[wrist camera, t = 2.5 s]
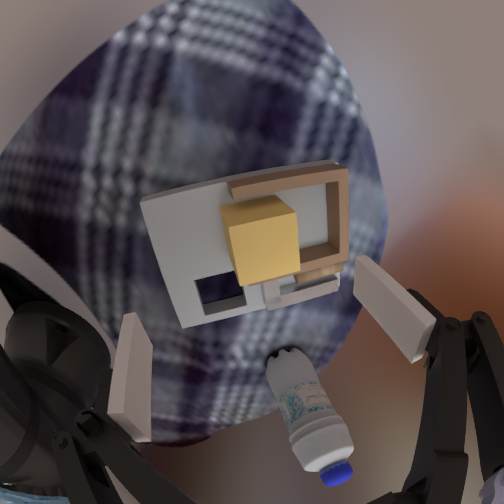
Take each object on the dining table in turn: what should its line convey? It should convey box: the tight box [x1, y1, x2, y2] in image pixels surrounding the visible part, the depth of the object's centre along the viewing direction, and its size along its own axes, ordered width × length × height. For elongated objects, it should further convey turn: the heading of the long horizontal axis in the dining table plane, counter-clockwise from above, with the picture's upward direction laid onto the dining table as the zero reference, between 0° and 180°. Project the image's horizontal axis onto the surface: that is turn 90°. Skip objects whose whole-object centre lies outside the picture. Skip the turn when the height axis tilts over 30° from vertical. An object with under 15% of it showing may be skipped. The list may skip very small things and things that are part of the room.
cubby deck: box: [140, 159, 349, 328], centre depth 26 cm, size 18×14×4 cm
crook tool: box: [261, 274, 339, 311], centre depth 28 cm, size 8×4×2 cm, turn 98°
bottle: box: [266, 348, 354, 486], centre depth 29 cm, size 7×7×20 cm
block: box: [219, 195, 301, 286], centre depth 23 cm, size 5×5×5 cm
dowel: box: [294, 262, 343, 284], centre depth 28 cm, size 5×2×2 cm, turn 98°
